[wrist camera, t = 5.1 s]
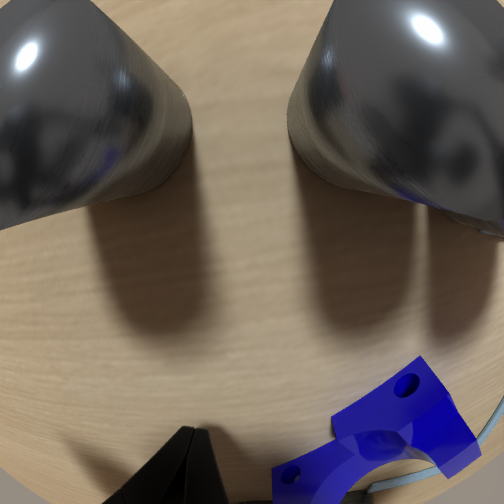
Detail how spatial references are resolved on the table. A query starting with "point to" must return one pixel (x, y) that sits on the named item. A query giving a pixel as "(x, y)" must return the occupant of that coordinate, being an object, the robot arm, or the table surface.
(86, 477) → the table surface
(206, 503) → the robot arm
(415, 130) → the spacers
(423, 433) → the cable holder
